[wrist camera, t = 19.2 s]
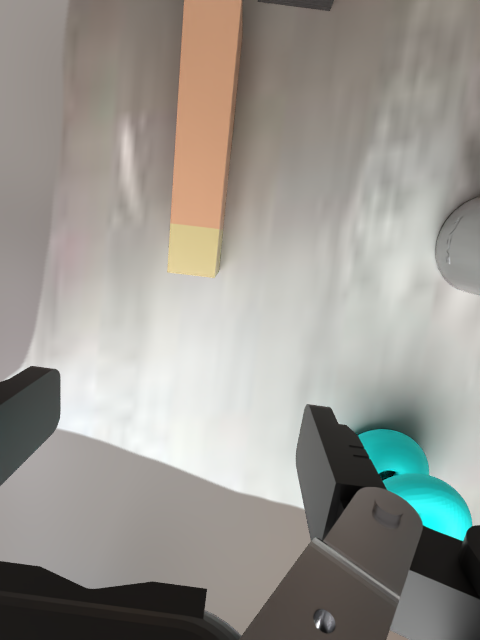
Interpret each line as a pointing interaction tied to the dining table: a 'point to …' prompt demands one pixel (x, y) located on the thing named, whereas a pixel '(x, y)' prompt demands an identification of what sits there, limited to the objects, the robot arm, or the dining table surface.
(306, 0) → the plate
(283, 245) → the dining table surface
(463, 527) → the donuts
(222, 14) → the plug
